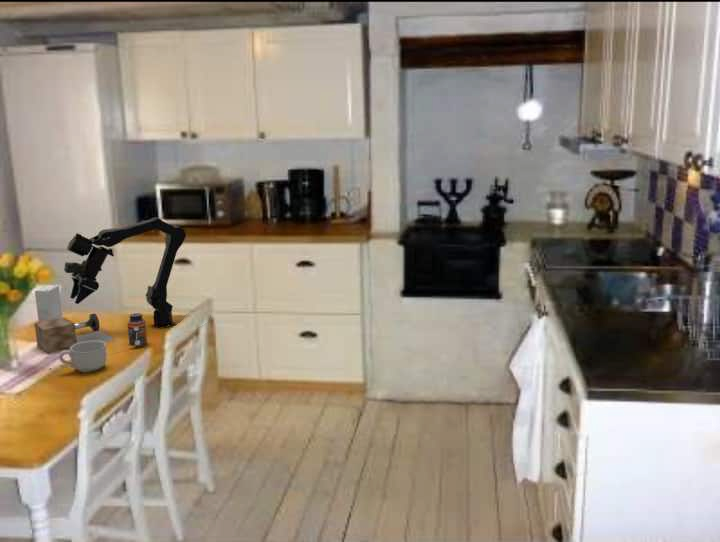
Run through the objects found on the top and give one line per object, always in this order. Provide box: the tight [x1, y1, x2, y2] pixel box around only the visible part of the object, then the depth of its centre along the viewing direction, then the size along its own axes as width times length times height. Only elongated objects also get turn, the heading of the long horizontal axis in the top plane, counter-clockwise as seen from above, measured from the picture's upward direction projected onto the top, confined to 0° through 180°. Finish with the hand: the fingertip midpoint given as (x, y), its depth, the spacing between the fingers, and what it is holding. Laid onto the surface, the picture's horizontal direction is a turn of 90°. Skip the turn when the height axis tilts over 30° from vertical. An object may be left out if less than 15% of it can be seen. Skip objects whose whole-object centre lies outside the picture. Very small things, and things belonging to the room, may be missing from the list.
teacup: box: [58, 340, 107, 373], centre depth 215 cm, size 14×11×8 cm
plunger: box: [74, 313, 100, 333], centre depth 241 cm, size 11×6×6 cm, turn 131°
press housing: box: [34, 316, 77, 355], centre depth 236 cm, size 10×11×8 cm
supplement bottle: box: [127, 312, 148, 349], centre depth 237 cm, size 6×6×11 cm
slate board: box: [35, 330, 117, 356], centre depth 241 cm, size 23×15×1 cm, turn 131°
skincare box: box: [34, 284, 64, 322], centre depth 267 cm, size 8×6×15 cm
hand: (73, 301), depth 243 cm, fingers open, 9 cm apart
